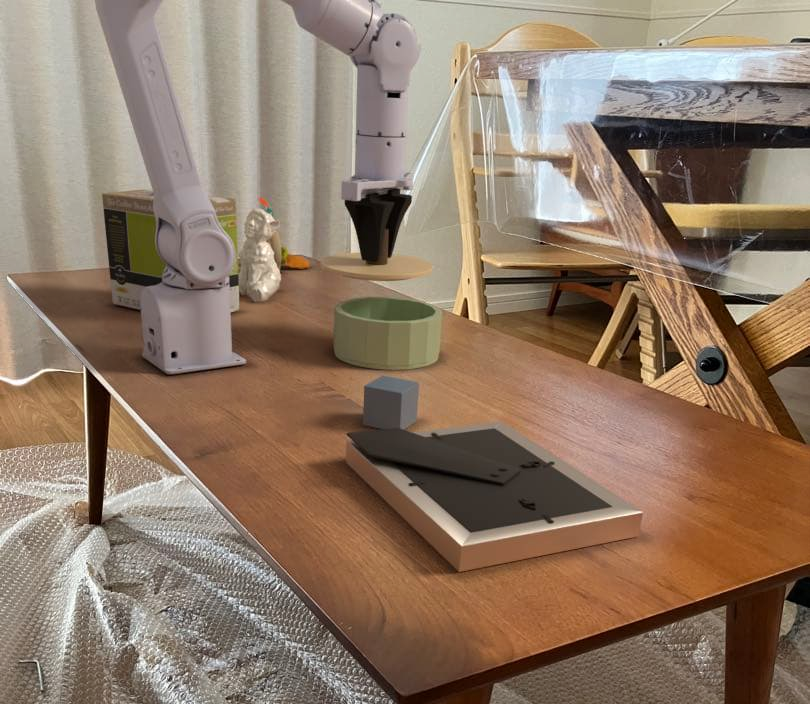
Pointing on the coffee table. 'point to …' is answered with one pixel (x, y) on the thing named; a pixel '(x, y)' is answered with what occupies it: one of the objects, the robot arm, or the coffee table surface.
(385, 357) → the green faceted round bowl
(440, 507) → the picture frame
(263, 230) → the seated beast figurine
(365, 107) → the robot arm
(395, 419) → the block
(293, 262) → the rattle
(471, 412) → the coffee table surface
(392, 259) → the lid
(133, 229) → the tea box
